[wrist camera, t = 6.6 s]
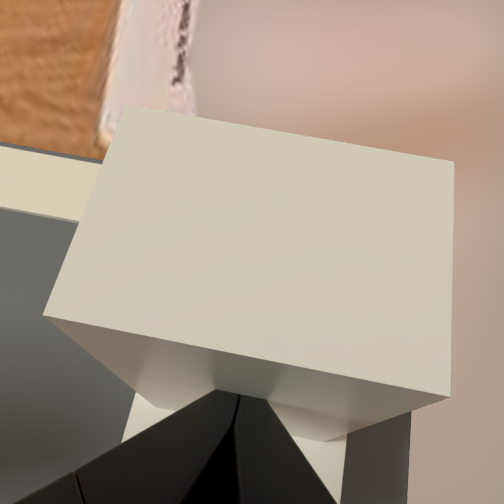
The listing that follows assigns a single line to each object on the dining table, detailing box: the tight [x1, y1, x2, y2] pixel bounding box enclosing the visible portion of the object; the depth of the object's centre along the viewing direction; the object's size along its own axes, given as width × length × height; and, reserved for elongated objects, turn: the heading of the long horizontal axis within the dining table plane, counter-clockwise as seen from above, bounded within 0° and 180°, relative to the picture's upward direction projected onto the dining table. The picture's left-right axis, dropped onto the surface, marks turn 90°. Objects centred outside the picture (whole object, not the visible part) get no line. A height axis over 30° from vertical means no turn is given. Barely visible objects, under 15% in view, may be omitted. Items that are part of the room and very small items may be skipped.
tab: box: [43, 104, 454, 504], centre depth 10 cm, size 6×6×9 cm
